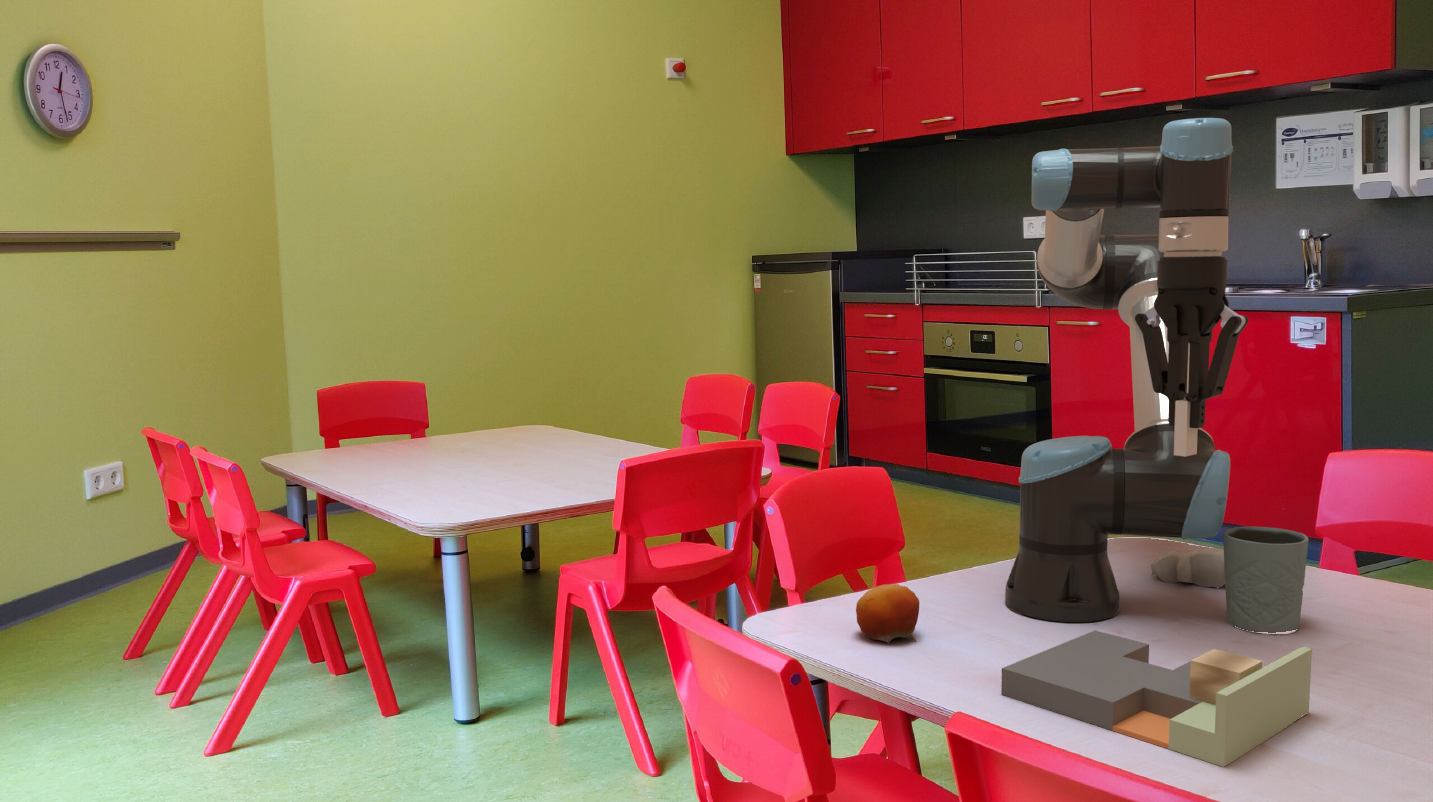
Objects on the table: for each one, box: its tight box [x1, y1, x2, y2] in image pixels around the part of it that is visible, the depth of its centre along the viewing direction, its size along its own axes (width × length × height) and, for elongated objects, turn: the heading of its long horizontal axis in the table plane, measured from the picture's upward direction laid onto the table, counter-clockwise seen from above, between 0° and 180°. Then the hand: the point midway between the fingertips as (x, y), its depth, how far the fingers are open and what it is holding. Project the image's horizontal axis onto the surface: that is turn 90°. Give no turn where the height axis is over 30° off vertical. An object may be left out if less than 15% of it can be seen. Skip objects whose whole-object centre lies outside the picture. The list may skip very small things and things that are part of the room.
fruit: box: [855, 583, 920, 645], centre depth 147 cm, size 8×8×8 cm
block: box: [1189, 648, 1263, 705], centre depth 117 cm, size 5×5×4 cm
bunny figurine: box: [1150, 547, 1226, 588], centre depth 169 cm, size 10×5×15 cm
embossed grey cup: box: [1222, 526, 1309, 633], centre depth 149 cm, size 10×10×12 cm
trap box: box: [1000, 630, 1313, 768], centre depth 124 cm, size 25×19×7 cm
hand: (1185, 454), depth 137 cm, fingers closed
